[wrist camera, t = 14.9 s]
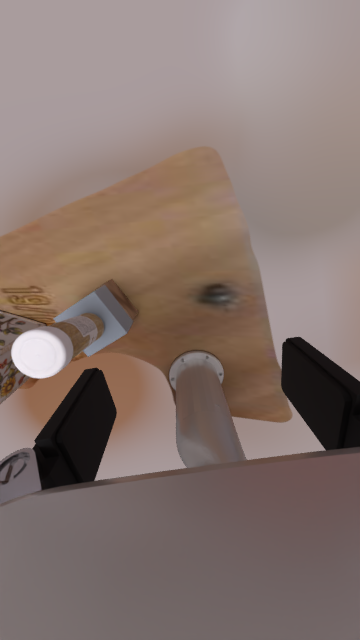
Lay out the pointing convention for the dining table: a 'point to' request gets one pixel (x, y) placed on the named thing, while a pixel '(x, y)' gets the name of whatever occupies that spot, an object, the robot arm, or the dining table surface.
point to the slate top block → (101, 317)
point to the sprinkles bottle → (55, 345)
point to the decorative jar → (3, 332)
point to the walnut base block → (121, 298)
